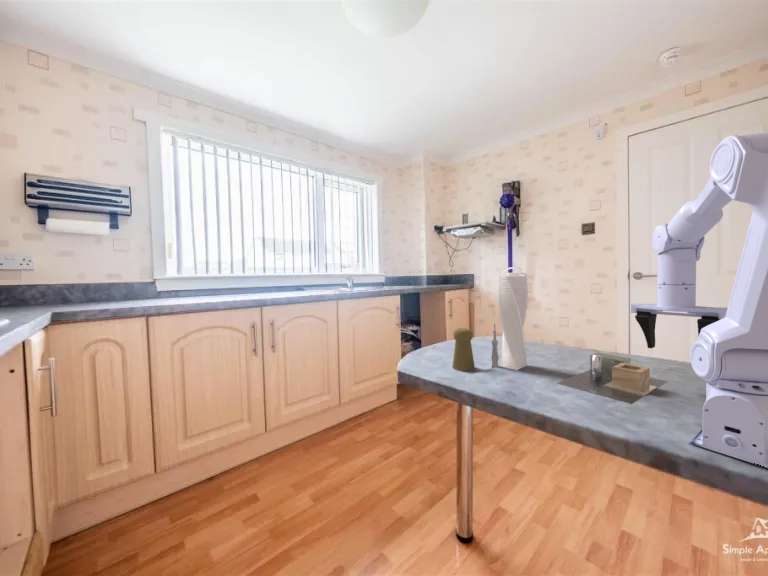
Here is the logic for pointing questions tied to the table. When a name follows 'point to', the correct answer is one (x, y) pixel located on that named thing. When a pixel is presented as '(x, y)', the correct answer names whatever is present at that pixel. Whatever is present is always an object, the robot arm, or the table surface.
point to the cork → (463, 350)
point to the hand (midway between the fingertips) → (675, 350)
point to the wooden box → (630, 376)
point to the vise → (607, 379)
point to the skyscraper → (511, 320)
